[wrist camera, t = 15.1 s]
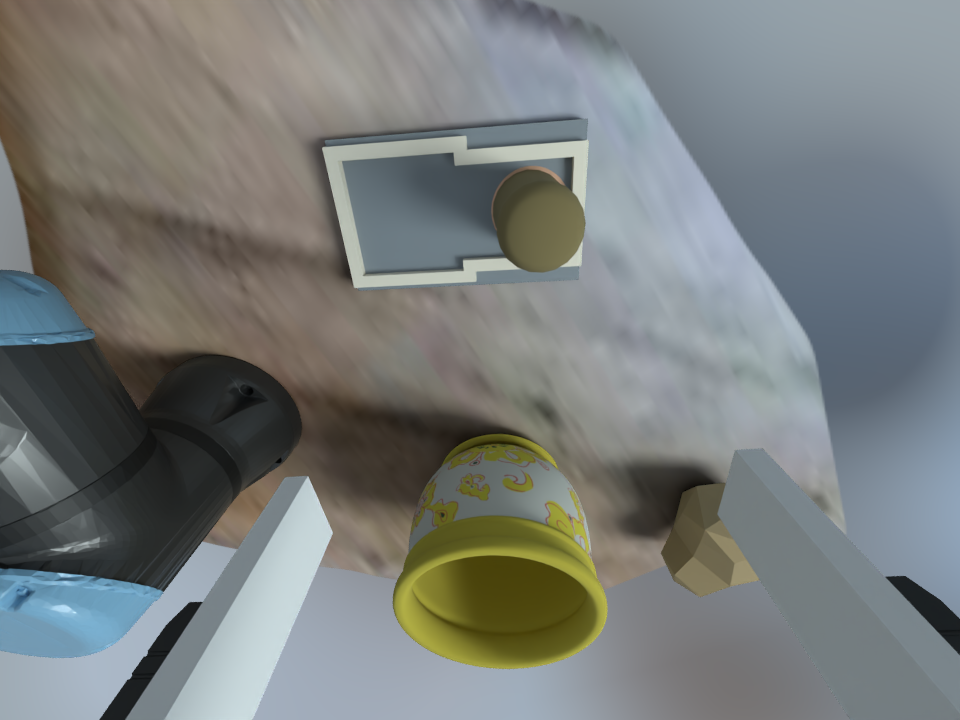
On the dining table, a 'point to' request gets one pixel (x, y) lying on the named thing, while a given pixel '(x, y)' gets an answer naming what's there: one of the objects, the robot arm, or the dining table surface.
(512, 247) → the cork
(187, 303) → the dining table surface
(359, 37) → the dining table surface
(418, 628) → the flowerpot
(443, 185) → the grey shallow tray
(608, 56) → the dining table surface
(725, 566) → the low-poly potato
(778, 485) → the robot arm
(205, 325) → the dining table surface
